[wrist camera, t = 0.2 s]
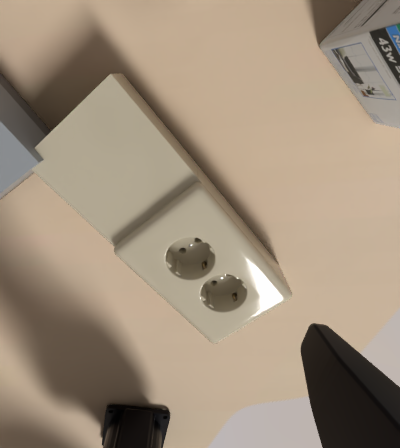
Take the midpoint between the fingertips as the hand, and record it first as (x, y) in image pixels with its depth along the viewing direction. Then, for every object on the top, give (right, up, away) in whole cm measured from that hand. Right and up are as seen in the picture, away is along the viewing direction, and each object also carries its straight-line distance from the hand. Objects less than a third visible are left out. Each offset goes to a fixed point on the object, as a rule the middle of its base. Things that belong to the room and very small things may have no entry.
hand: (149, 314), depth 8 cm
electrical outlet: (-1, +3, +15) cm, 15 cm away
